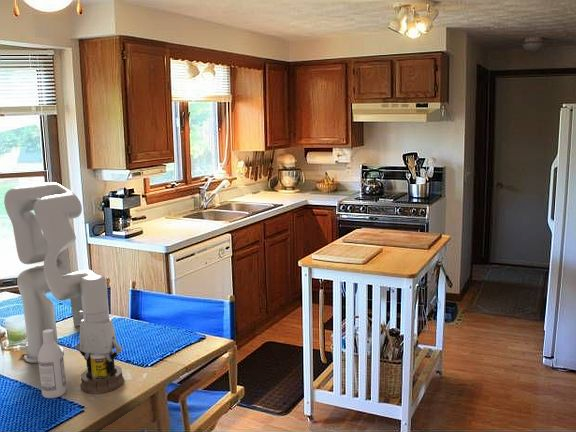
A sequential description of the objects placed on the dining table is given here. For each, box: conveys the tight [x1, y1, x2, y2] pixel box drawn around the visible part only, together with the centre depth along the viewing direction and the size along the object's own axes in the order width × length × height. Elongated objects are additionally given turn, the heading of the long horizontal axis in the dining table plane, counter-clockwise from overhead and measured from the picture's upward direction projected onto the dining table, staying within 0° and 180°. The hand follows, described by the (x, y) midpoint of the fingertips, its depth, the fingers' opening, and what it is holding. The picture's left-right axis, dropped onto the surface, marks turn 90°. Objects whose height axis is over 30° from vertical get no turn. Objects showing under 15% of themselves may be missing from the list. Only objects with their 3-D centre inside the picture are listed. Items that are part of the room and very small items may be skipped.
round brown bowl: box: [79, 364, 125, 395], centre depth 180 cm, size 13×13×4 cm
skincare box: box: [69, 296, 83, 327], centre depth 231 cm, size 8×7×16 cm
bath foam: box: [37, 329, 67, 399], centre depth 173 cm, size 7×7×20 cm
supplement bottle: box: [90, 353, 111, 380], centre depth 179 cm, size 6×6×10 cm
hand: (101, 370), depth 179 cm, fingers open, 5 cm apart
